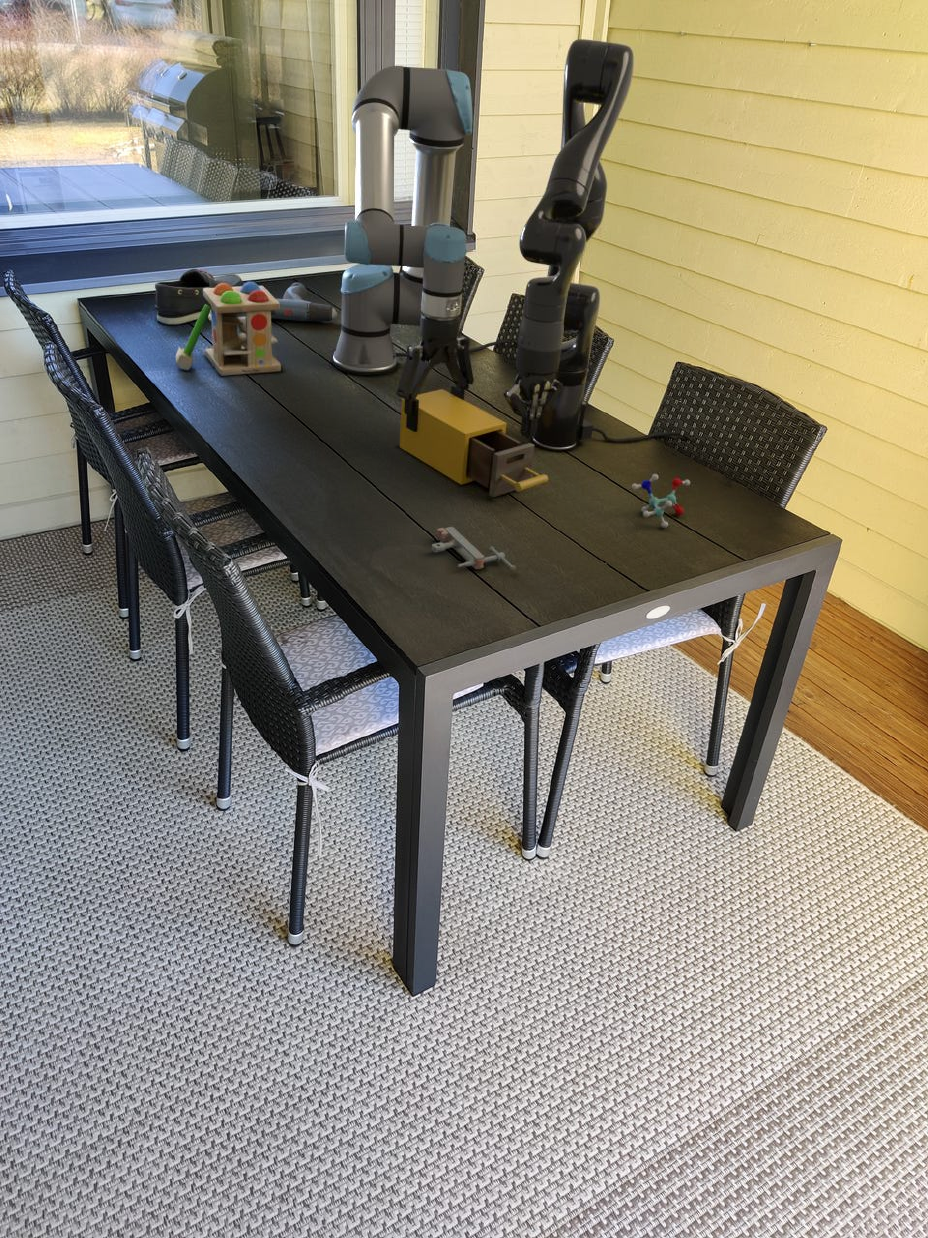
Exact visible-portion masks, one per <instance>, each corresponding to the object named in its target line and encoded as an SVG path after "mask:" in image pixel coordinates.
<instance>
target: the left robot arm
mask: <svg viewBox="0 0 928 1238" xmlns="http://www.w3.org/2000/svg"><path fill="white" fill-rule="evenodd" d="M472 101H473V100H472V89H471V82H470V79H469V77H468V75H467V74H466V73H465V72H462V71H456V70H452V69H448V68H432V67H419V66H418V67H417V66H416V67H415V66H403V65H391V66H387V67H384V68H382V69H380V70H378V71H377V72H375V73H374V74H372V75H371V76H370V77H369V78H368V79H367V80H366V81H365V82H364V84H363V85H362V86H361V88H360V89H359V91H358V93H357V94H356V98H355V100H354V102H353V106H352V110H351V127H352V130H353V132H354V133H355V135H356V144H355V145H356V147H355V148H356V149H355V151H356V152H355V153H356V154H355V157H356V158H355V204H354V205H355V208H354V209H355V210H354V211H355V212H354V214H355V215H354V220H353V221H352V220H351V221H347V222H346V223H345V226H344V258H345V261H347V263H352V264H355V265H352V266H351V267H348V268H346V269H345V271H344V272H343V274H342V281H341V287H340V293H341V319H340V321H341V324H340V325H341V326H340V329H341V330H340V336H339V338H338V341H337V344H336V346H335V347H334V348H333V351H332V353H333V361H332V362H333V363H332V364H333V366H334V367H335V368H337V369H338V370H339V371H342V372H344V373H347V374H352V375H356V376H380V375H381V376H382V375H386V374H389V373H391V372H393V371H395V369H396V368H397V361H398V359H397V357H398V358H406V359H405V360H404V361H405V362H404V365H403V368H402V372H401V376H400V379H399V382H398V386H397V388H396V392H395V393H396V395H397V396H398V397H400V398H401V399H402V398H403V399H405V407H404V408H405V409H404V412H405V414H407V416H406V428H408V429H410V430H411V431H413V432H417V426H418V408H419V400H418V399H416V397H417V395H419V393H420V392H421V389H422V388H423V385H424V383H425V381H426V380H427V377H428V375H429V373H430V371H432V370H433V369H434V367H435V366H437V365H440V364H445V367H446V369H447V371H448V373H449V374H450V377H451V379H452V381H453V383H454V385H450V393H451V394H453V395H454V396H456V397H458V398H460V399H462V400H464V401H465V393H466V391H468V390H469V388H470V385H473V383H474V382H475V379H474V373H473V367H472V362H471V356H470V354H471V353H475V352H479V351H483V350H484V349H487V348H490V347H494V346H499V345H504V344H509V343H510V344H511V343H513V344H515V345H516V346H517V347H518V344H516V343H515V342H506V340H505V339H502V340H497V341H491V342H488V343H485V344H483V345H480V346H477V347H472V348H470V339H469V338H467V337H465V336H463V335H460V328H461V326H460V325H461V317H460V315H461V313H462V301H463V300H462V299H463V285H464V273H465V263H466V255H467V235H466V233H465V231H464V230H463V229H461V228H458V227H454V226H451V214H452V201H453V190H454V180H455V179H454V177H455V166H456V165H455V164H456V154H457V151H459V149H460V148H461V147H463V146H464V143H465V137H469V136H470V135H472V132H473V104H472ZM399 130H401V131H409V136H408V140H409V141H410V143H411V144H412V145H413V146H414V148H415V155H414V156H415V157H414V172H413V173H414V175H413V190H412V191H413V193H412V197H413V198H412V211H411V212H412V213H411V225H410V224H395V137H396V135H397V134H398V132H399ZM393 267H402V268H401V269H402V270H401V271H402V272H394V268H393ZM391 325H397V326H398V325H401V326H416V327H419V332H420V336H421V340H420V342H419V345H415V346H413V345H411V344H409V345H407V347H406V352H395V347H394V343H393V341H392V337H391V336H392V335H391ZM456 356H457V357H456Z"/></svg>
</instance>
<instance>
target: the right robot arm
mask: <svg viewBox="0 0 928 1238" xmlns="http://www.w3.org/2000/svg"><path fill="white" fill-rule="evenodd" d="M634 68H635V57H634V51H633V49H632V47H630V46H629V45H627V44H622V43H617V42H610V41H603V40H602V41H601V40H592V39H585V38H577V39H575V40H574V41H572V43H571V44H570V46H569V49H568V51H567V54H566V58H565V65H564V73H563V87H562V88H563V89H562V90H563V91H562V93H563V94H562V116H561V117H562V120H561V121H562V122H561V139H560V140H561V141H560V143H561V144H560V150H559V152H558V154H557V155H556V157H555V159H554V162H553V164H552V167H551V170H550V175H549V178H548V181H547V184H546V188H545V190H544V193H543V195H542V197H541V198H540V200H539V202H538V204H537V206H535V209H534V210H533V211H532V213H531V214H530V216H529V217H528V219H527V221H525V224H524V226H523V228H522V229H521V233H520V237H519V244H518V245H519V252H520V254H521V257H522V258H523V259H524V260H525V261H527V262H528V263H533V264H538V265H545V266H548V270H547V275H546V276H539V277H533V278H531V279H530V280H529V281H527V283H526V287H525V293H524V299H523V308H522V317H521V321H520V325H519V331H518V338H517V339H518V340H517V341H518V346H517V348H516V356H515V367H516V370H517V375H516V378H515V379H514V385H513V387H512V388H510V390H509V389H506V390H504V392H503V397H504V398H505V400H506V402H507V403H508V405H509V407H510V409H511V410H512V412H513V414H515V415H516V416H519V417H520V418H521V420H520V421H521V422H520V429H519V432H520V434H521V436H522V437H524V438H525V439H531V438H532V442H533V443H534V445H536V446H538V447H540V448H542V449H545V450H547V451H548V450H549V451H554V452H555V451H556V452H564V451H570V450H572V449H575V448H576V446H580V444H581V441H583V440H589V439H592V435H593V432H596V433H598V434H601V436H602V437H603V439H605V440H606V441H607V442H608V441H609V442H611V443H615V444H616V443H618V444H621V443H629V442H637V441H644V440H647V439H651V438H657V437H658V438H659V437H660V438H661V437H669V436H680V437H683V438H685V439H686V440H687V441H688V442H692V441H693V439H692V438H691V437H690V435H688V436H681V435H680V434H679V432H680V431H668V432H655V433H650V434H646V435H642V436H636V437H635V436H634V437H627V438H613V437H609V436H608V435H607V434H606V431H604V430H602V429H601V428H598V427H595V426H594V424H593V423H592V422H589V421H588V420H586V419H585V414H586V408H587V402H586V401H585V400H584V397H585V390H586V384H587V383H586V382H587V377H588V371H589V365H590V357H591V352H592V351H591V350H592V345H593V338H594V335H595V334H594V333H595V329H596V324H597V320H598V315H599V311H600V307H601V306H600V303H601V293H600V290H599V288H598V287H596V286H594V285H588V284H583V283H576V282H572V280H573V278H574V276H575V273H576V271H577V268H578V267H579V264H580V262H581V259H582V257H583V255H584V252H585V250H586V245H587V243H588V242H589V241H590V240H591V239H592V237H593V236H594V235H595V234H596V232H597V231H598V229H599V228H600V226H601V224H602V223H603V219H604V216H605V208H606V200H607V194H608V193H607V192H608V180H607V176H606V172H605V170H604V167H603V164H602V162H601V158H602V155H603V153H604V151H605V149H606V146H607V144H608V142H609V140H610V138H611V136H612V134H613V131H614V129H615V127H616V124H617V122H618V121H619V120H618V119H619V118H620V115H621V113H622V111H623V108H624V105H625V103H626V100H627V98H628V96H629V92H630V89H631V85H632V82H633V75H634ZM585 104H588V105H596V106H600V107H599V108H598V110H597V111H596V113H595V114H594V116H592V118H591V119H590V120H589V121H588V122H586V117H585V116H586V115H585ZM564 332H567V333H571V334H572V333H573V334H576V336H575V337H574V338H572V339H570V340H567V341H563V340H564V339H563V338H564Z"/></svg>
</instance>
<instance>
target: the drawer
mask: <svg viewBox="0 0 928 1238" xmlns="http://www.w3.org/2000/svg"><path fill="white" fill-rule="evenodd" d="M521 443H522V442H521V441H520V440H517V439H515V438H514V437H512V436H510V435H508V434H506V433H503V432H501V431H499V430H496V431H493V432H489V433H485V434H482V435H478V436H474V437H471V438H469V445H468V456H467V467H466V475H467V476H468V477H470V478H472V479H473V480H475V482H476V483H478V484H480V485H481V486H483V487H485V488H487V489H489V496H491V497H492V498H496V497H498V496H502V495H505V494H508V493H512V492H513V491H516V492H518V493H520V492H523V491H526V490H529V489H532V488H536V487H538V486H541V485H544V484H547V483H548V482H549V476H548V475H547V474H546V473H542V474H539V473H538V472H536V471H534V470H533V469H532V467H533V460H534V459H533V458H534V451H535V444H533V443H531V442H528V443H525V444H521ZM531 476H532V477H531Z"/></svg>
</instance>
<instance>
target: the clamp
mask: <svg viewBox="0 0 928 1238" xmlns="http://www.w3.org/2000/svg"><path fill="white" fill-rule="evenodd" d="M436 541H439V542H436V543H432V544H431V551H432V552H433V553H435V554H437V553H441V552H445V551H446V550H447V549H451V548H453V549H454V550H455V551H456V552H457V553H458V554H459V555H460V556H461V557H462V558H463V559H464V560H465V562H462V563H459V564H457V567H458V568H462V567H472V568H473V569H475V570H480V569H483V568H484V563H488V562H492V561H496V562H499V561H502V562H503V563H504V564H505V565H506V566H507V567H508V568H509V569H510V571H511V572H514V571H515V570H516V568H517V567H516V565H514V564H511V563H510V562H509V561H508V560H507V559H506V554H505V552H503V551H501V552H498V551H497V550H495V547H494V546H490V547H489V549H488V551H489V552H490V553H493V554H494V555H491V556H486V557H485V556H484V554H482V553H481V551H479V550H478V549H477V548H476V547H475V546H474V545H473V544H472V543H471V542H470V541H469V540H467V538H466V537H464V535H462V534H461V533H460V532H459V531H458V530H457V529H456V528H455V527H454V526H448V527H445V528H444V527H440V528H437V529H436Z"/></svg>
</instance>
